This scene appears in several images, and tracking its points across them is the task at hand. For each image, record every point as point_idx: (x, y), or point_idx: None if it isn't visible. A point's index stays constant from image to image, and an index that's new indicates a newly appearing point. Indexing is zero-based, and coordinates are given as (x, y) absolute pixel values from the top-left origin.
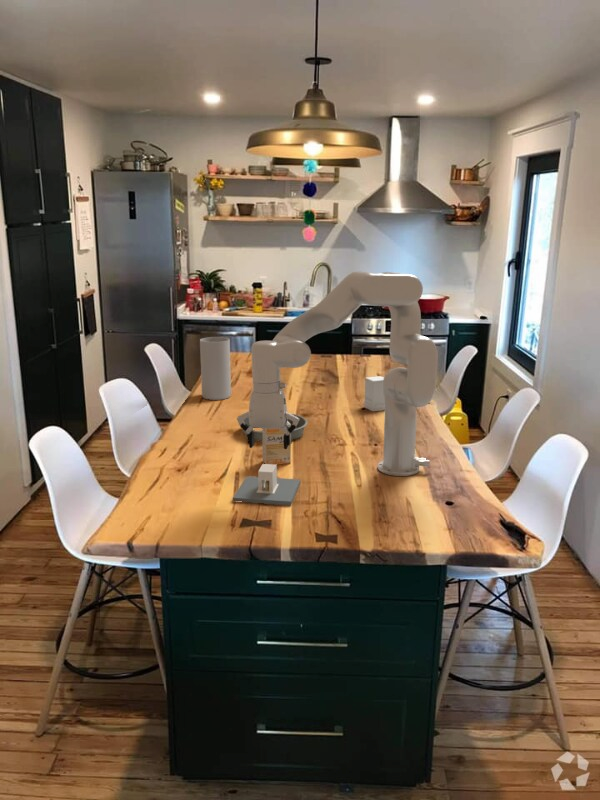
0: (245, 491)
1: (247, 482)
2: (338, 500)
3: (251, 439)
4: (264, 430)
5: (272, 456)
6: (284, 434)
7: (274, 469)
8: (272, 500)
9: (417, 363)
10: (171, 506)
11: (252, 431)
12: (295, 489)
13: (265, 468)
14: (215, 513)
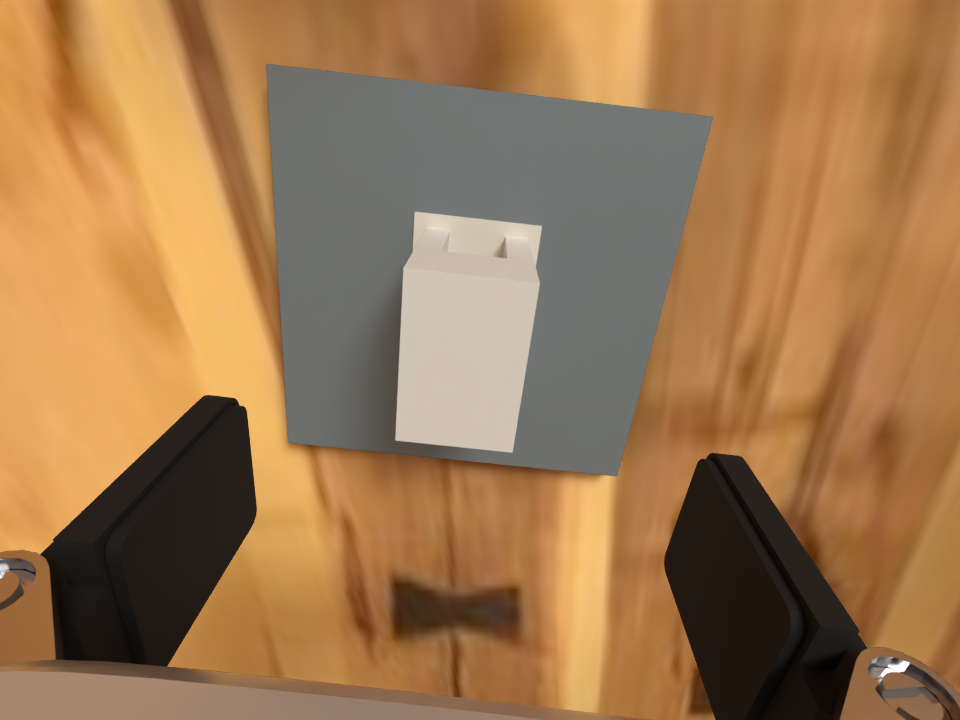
0: (336, 358)
1: (309, 204)
2: (893, 390)
3: (196, 611)
4: None
5: None
6: (756, 709)
7: (523, 375)
8: (513, 464)
9: None
10: (12, 483)
11: (101, 605)
12: (656, 315)
13: (445, 380)
14: (254, 541)
